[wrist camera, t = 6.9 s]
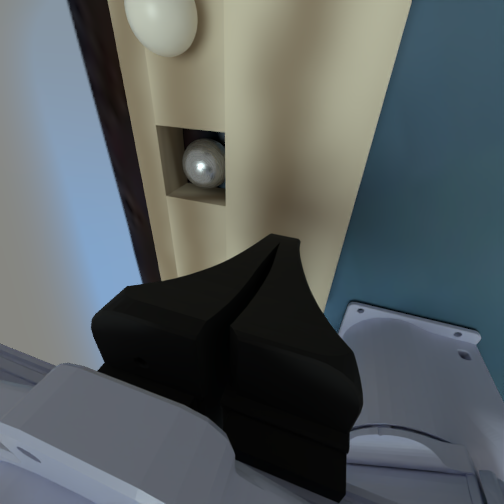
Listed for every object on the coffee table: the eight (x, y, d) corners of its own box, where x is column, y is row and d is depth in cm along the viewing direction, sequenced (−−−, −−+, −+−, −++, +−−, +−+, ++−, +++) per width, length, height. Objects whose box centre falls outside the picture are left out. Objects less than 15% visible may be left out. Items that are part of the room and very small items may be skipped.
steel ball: (233, 133, 18) (220, 145, 15) (237, 179, 19) (225, 197, 17) (189, 133, 18) (169, 144, 16) (196, 178, 20) (179, 195, 17)
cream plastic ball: (207, -25, 11) (169, -54, 9) (210, 60, 13) (178, 55, 11) (148, -23, 12) (97, -49, 10) (158, 58, 14) (117, 53, 11)
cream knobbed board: (430, -97, 10) (454, -151, 8) (322, 301, 23) (319, 327, 20) (134, -70, 14) (88, -103, 11) (179, 266, 26) (162, 285, 23)
